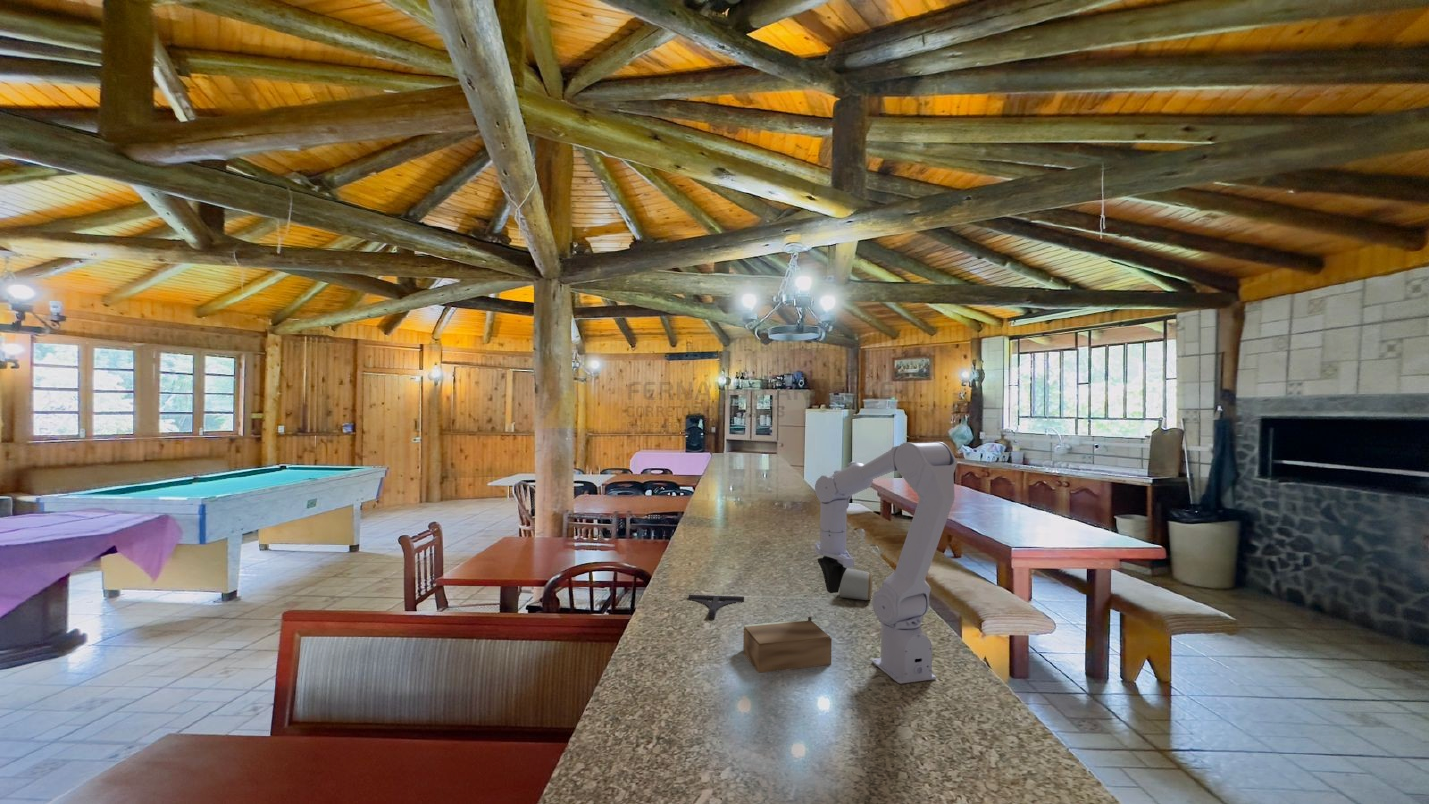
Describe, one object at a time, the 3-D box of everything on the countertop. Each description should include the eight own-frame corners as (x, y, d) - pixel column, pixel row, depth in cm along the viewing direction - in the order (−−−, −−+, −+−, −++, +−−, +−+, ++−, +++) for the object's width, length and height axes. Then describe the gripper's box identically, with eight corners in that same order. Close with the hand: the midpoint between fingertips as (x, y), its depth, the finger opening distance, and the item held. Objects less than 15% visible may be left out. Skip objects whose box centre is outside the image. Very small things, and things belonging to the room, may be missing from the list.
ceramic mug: (871, 604, 142) (871, 574, 143) (838, 600, 145) (839, 571, 145) (873, 592, 152) (873, 564, 153) (842, 589, 155) (842, 561, 155)
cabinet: (832, 664, 108) (833, 635, 108) (758, 673, 104) (759, 642, 104) (810, 643, 118) (810, 616, 118) (741, 650, 114) (741, 622, 114)
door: (804, 639, 119) (804, 617, 119) (808, 643, 117) (808, 621, 117) (742, 645, 115) (742, 623, 115) (745, 649, 113) (745, 627, 113)
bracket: (681, 621, 131) (681, 609, 131) (689, 600, 146) (689, 589, 146) (742, 624, 130) (742, 612, 130) (744, 602, 145) (744, 591, 145)
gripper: (802, 524, 129) (802, 583, 129) (832, 538, 115) (831, 604, 115) (830, 523, 131) (829, 581, 130) (862, 536, 117) (862, 601, 116)
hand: (832, 591), depth 123 cm, fingers closed
